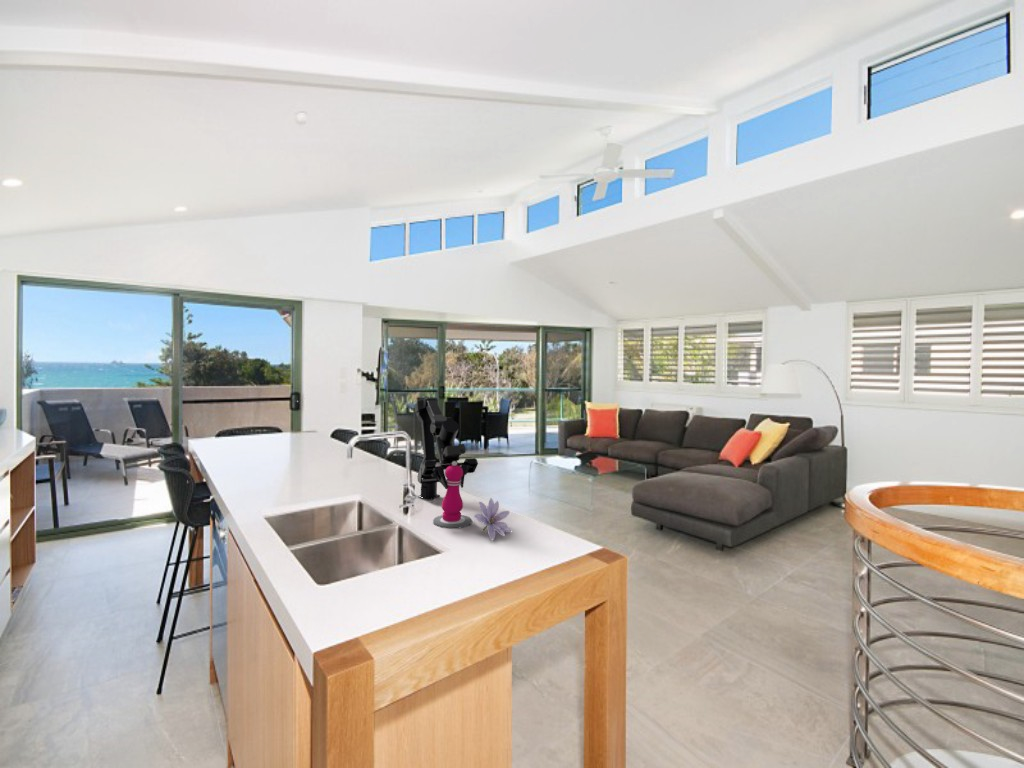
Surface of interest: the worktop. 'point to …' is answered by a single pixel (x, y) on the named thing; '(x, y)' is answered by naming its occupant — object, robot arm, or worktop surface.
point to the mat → (456, 524)
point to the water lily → (493, 519)
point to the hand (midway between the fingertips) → (454, 487)
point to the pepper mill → (453, 494)
